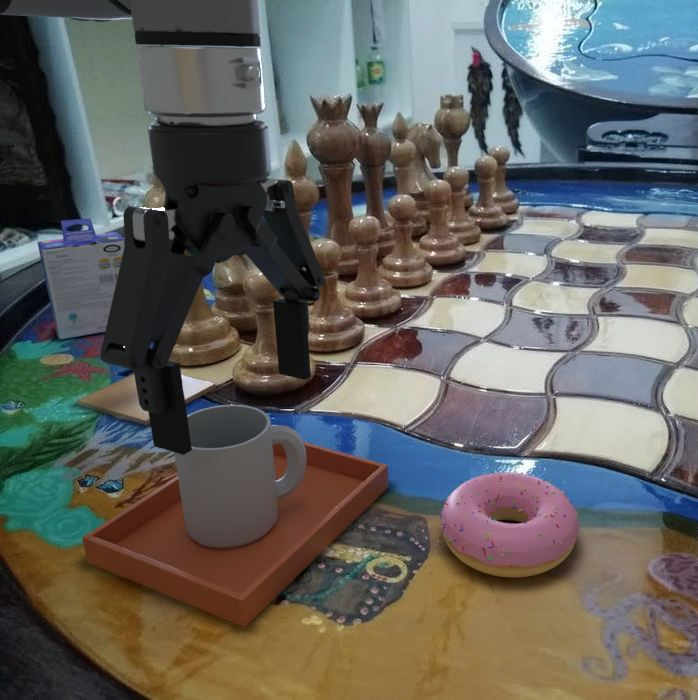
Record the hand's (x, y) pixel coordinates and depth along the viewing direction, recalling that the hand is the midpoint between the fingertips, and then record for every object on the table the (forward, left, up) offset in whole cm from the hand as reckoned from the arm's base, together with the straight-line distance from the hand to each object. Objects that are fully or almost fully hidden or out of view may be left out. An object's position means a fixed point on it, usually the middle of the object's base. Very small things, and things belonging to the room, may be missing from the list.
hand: (240, 408), depth 56 cm
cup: (0, 0, -10) cm, 10 cm away
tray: (0, 0, -11) cm, 11 cm away
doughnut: (+20, +7, -11) cm, 24 cm away
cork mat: (-25, +13, -11) cm, 30 cm away
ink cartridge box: (-47, +25, -11) cm, 55 cm away
